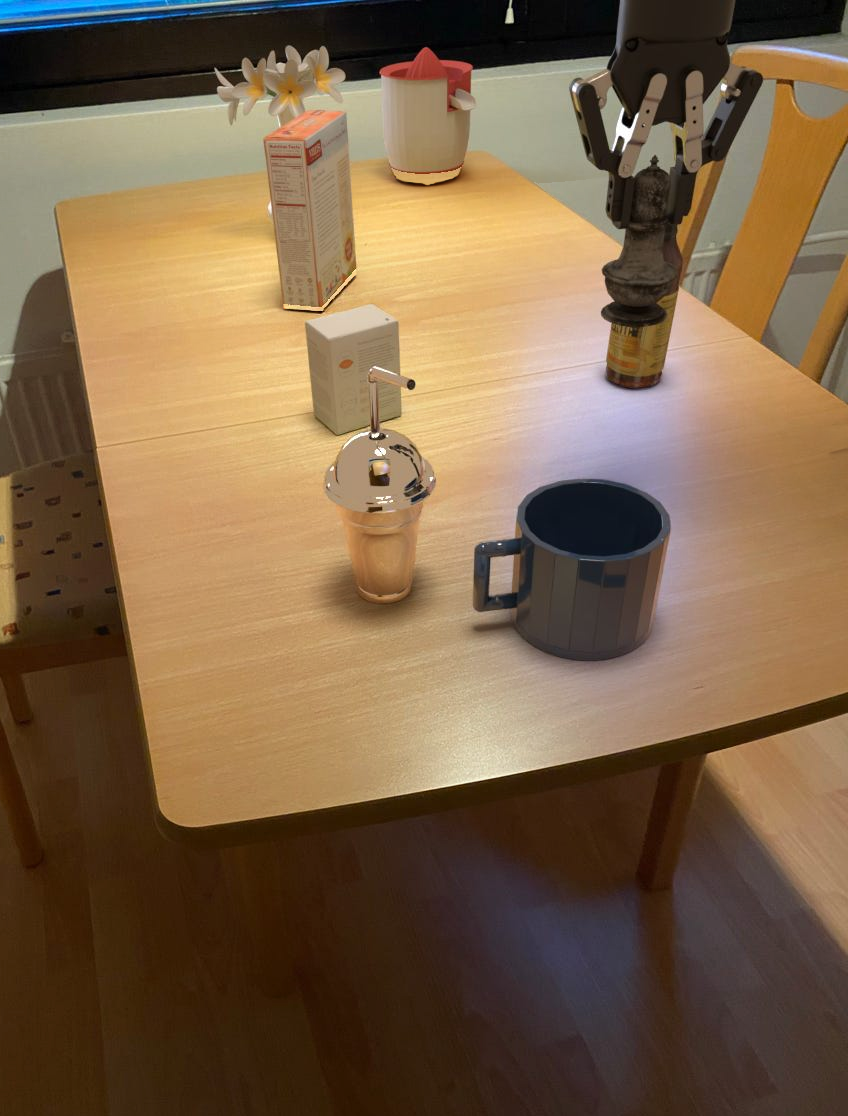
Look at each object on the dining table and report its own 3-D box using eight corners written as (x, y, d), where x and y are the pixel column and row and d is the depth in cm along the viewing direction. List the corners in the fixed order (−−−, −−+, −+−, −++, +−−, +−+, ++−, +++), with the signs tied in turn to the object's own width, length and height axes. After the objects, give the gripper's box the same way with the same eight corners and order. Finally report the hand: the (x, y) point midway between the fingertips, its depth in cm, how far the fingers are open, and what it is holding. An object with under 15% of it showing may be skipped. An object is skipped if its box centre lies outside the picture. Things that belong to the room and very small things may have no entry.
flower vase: (233, 229, 154) (209, 47, 138) (347, 217, 156) (336, 36, 140) (239, 255, 144) (214, 63, 128) (361, 242, 146) (351, 51, 130)
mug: (624, 567, 79) (639, 471, 73) (673, 651, 71) (694, 550, 65) (458, 586, 78) (459, 491, 72) (488, 674, 70) (492, 574, 64)
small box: (377, 397, 105) (373, 301, 99) (403, 416, 102) (400, 319, 95) (312, 415, 103) (303, 319, 96) (335, 436, 99) (327, 338, 92)
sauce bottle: (593, 373, 107) (614, 182, 95) (641, 362, 109) (668, 173, 96) (625, 396, 103) (652, 199, 90) (675, 385, 104) (709, 189, 91)
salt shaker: (605, 330, 77) (624, 167, 69) (590, 302, 81) (607, 147, 73) (679, 326, 76) (706, 163, 69) (660, 299, 81) (684, 143, 73)
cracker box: (318, 273, 136) (305, 108, 123) (358, 276, 134) (350, 109, 121) (279, 310, 126) (260, 134, 113) (321, 314, 124) (308, 136, 111)
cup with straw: (431, 553, 82) (429, 325, 69) (442, 619, 75) (442, 379, 62) (331, 560, 82) (311, 332, 69) (333, 626, 75) (311, 387, 62)
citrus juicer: (440, 196, 162) (440, 59, 149) (364, 180, 171) (359, 51, 159) (496, 175, 170) (501, 43, 158) (421, 161, 180) (420, 36, 167)
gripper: (595, -37, 60) (569, 247, 71) (814, -52, 61) (755, 231, 72) (562, -48, 66) (543, 217, 77) (763, -61, 66) (716, 203, 77)
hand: (646, 222), depth 74 cm, fingers closed on salt shaker, 3 cm apart
